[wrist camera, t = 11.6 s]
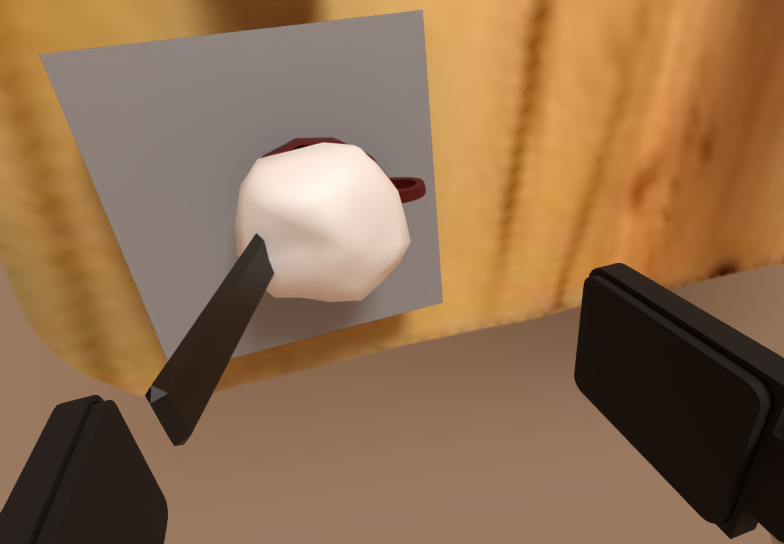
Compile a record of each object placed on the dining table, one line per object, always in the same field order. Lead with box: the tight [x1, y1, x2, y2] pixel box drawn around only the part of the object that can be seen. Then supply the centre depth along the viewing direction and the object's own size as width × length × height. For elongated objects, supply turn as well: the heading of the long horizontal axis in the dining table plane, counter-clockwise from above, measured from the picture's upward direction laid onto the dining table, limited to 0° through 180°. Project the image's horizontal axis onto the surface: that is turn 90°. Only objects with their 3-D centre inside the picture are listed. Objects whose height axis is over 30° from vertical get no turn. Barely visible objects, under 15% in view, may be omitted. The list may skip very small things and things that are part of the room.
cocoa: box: [145, 137, 426, 446], centre depth 15 cm, size 10×6×12 cm, turn 78°
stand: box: [39, 10, 443, 360], centre depth 23 cm, size 14×14×5 cm
